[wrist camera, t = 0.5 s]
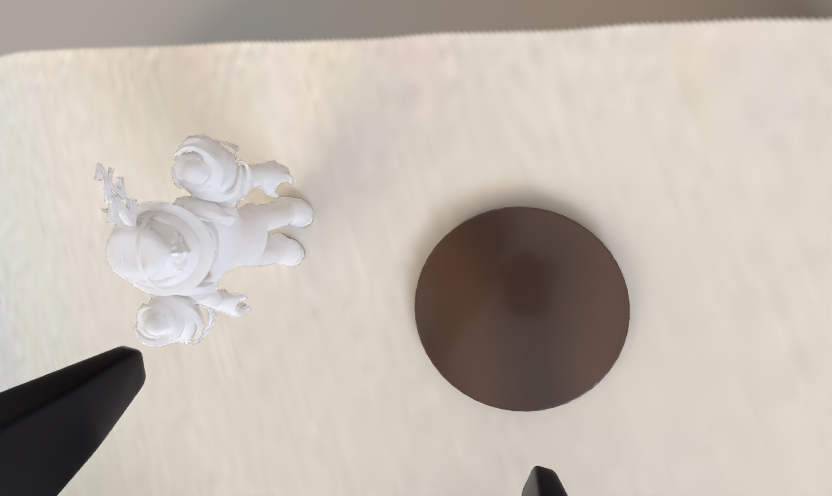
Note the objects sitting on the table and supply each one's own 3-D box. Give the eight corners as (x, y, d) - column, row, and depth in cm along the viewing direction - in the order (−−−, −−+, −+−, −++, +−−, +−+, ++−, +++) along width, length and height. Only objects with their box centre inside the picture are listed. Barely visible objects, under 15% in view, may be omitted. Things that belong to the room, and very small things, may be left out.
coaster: (475, 434, 25) (474, 442, 24) (382, 266, 25) (378, 268, 24) (664, 355, 22) (670, 360, 21) (562, 167, 22) (565, 166, 21)
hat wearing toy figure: (278, 146, 25) (81, 103, 13) (340, 169, 24) (191, 144, 13) (238, 289, 26) (32, 364, 15) (295, 313, 26) (127, 410, 14)
